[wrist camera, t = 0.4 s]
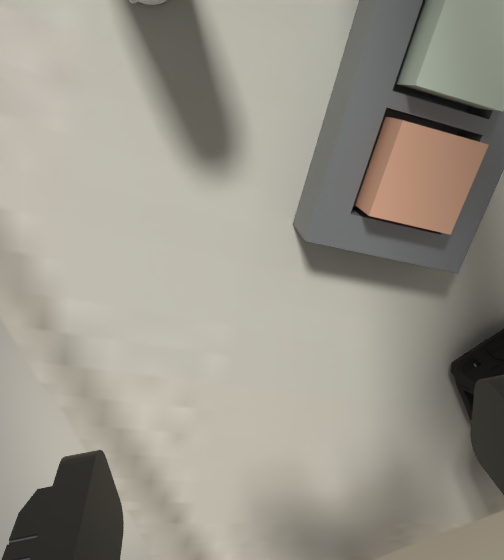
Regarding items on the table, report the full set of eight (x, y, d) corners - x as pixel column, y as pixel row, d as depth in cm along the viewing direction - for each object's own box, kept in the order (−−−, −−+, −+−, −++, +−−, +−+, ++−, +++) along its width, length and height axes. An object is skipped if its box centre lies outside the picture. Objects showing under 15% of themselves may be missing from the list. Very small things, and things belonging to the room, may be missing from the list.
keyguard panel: (435, -255, 27) (475, -307, 23) (608, -171, 29) (670, -206, 25) (292, 224, 36) (305, 241, 33) (431, 254, 39) (457, 273, 35)
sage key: (432, -23, 28) (457, -32, 26) (517, 8, 30) (549, 2, 27) (396, 84, 30) (415, 85, 28) (477, 108, 32) (502, 111, 29)
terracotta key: (385, 116, 31) (402, 120, 29) (464, 138, 32) (488, 144, 30) (354, 204, 33) (369, 215, 31) (430, 222, 35) (450, 234, 32)
